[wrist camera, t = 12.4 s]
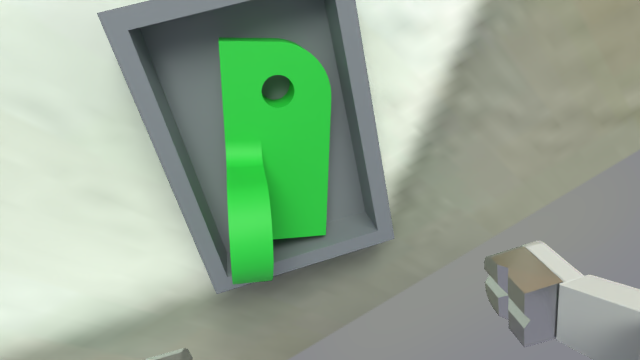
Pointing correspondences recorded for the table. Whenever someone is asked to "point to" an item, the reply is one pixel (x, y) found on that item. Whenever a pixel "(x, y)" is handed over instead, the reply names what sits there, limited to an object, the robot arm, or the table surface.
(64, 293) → the table surface
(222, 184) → the tray
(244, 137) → the mechanical part
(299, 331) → the table surface
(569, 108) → the table surface
